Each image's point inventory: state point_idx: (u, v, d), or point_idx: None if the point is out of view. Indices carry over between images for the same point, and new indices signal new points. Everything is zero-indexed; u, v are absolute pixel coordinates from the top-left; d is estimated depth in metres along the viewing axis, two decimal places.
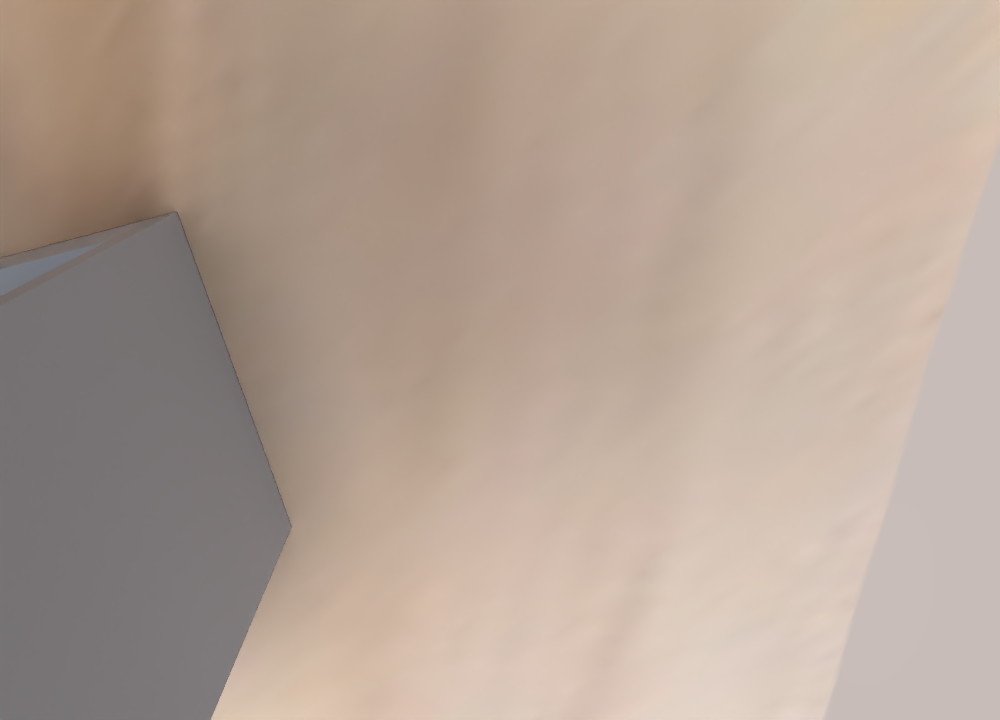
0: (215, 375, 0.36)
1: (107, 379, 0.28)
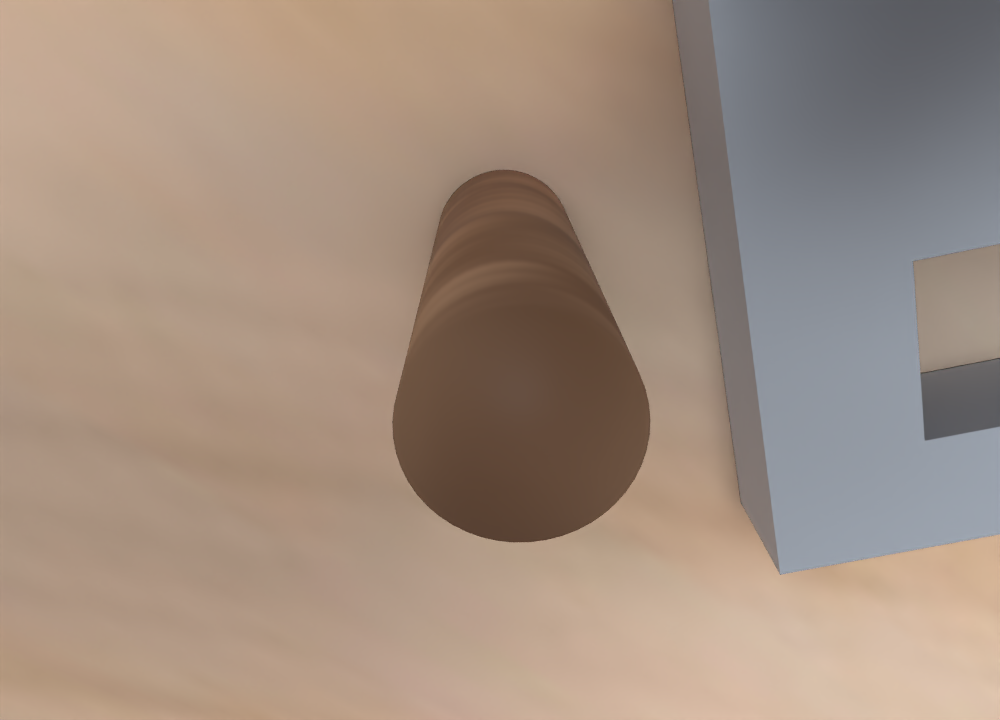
0: None
1: None
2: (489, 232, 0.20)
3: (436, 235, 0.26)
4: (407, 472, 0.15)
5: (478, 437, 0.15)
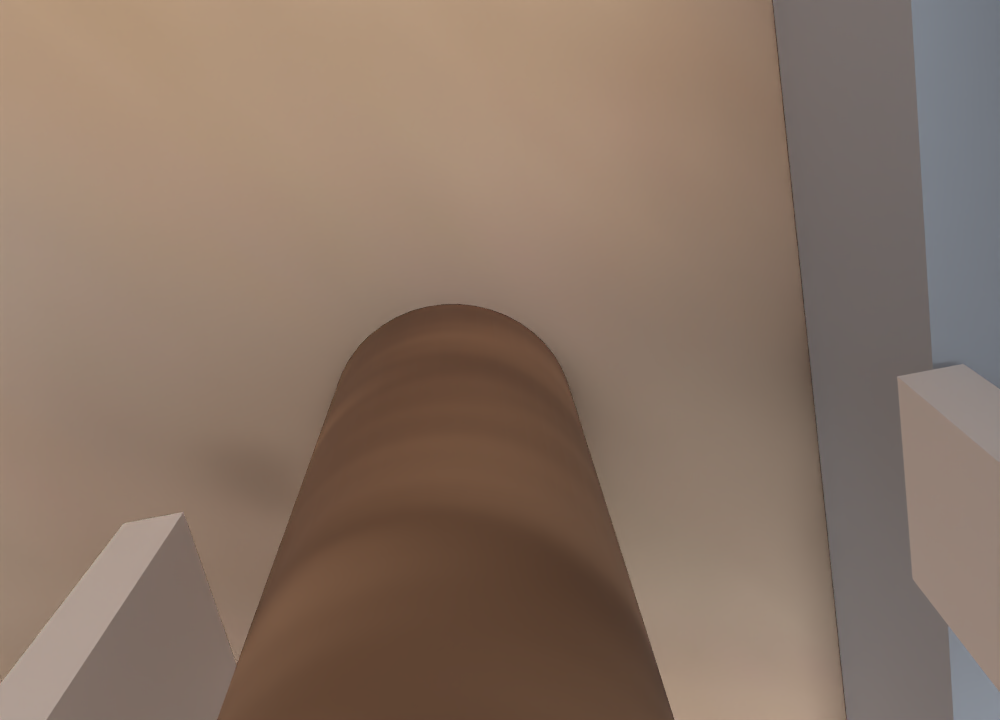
0: None
1: None
2: (371, 663, 0.07)
3: (308, 467, 0.12)
4: None
5: None
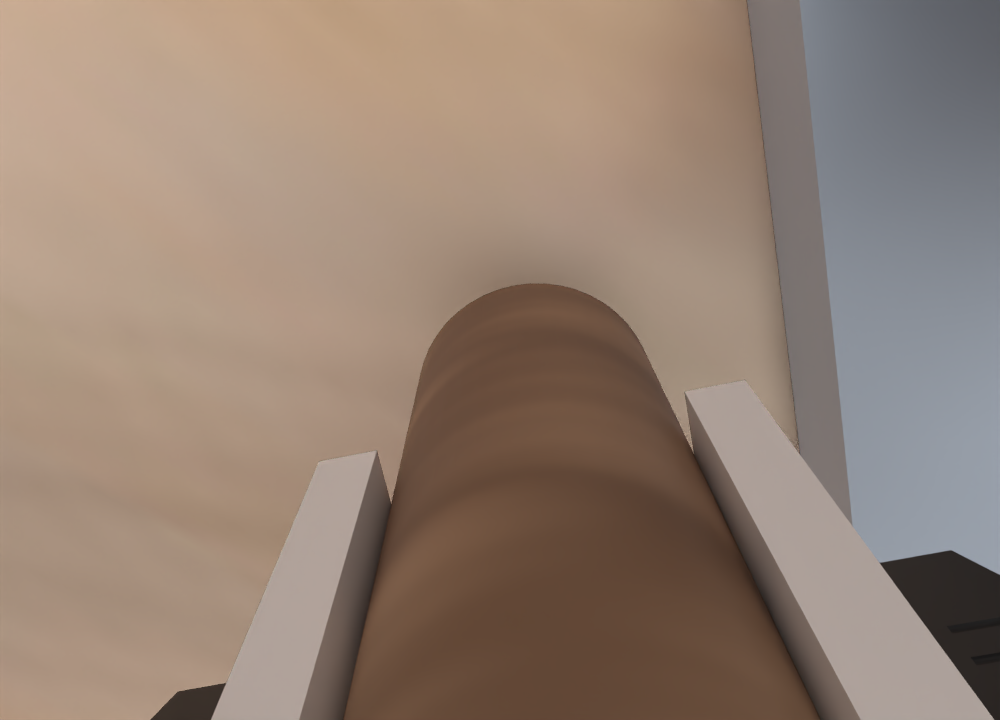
0: None
1: None
2: (526, 600, 0.07)
3: (407, 436, 0.13)
4: None
5: None
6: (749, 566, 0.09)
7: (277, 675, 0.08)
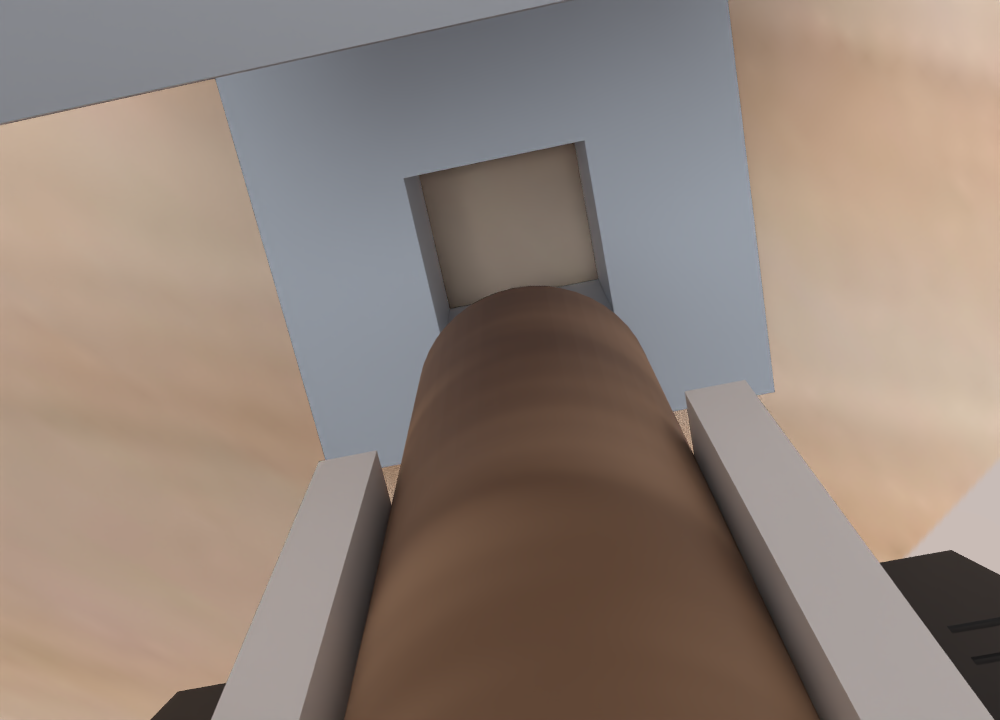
0: None
1: None
2: (527, 609, 0.07)
3: (407, 439, 0.13)
4: None
5: None
6: (749, 566, 0.09)
7: (277, 675, 0.08)
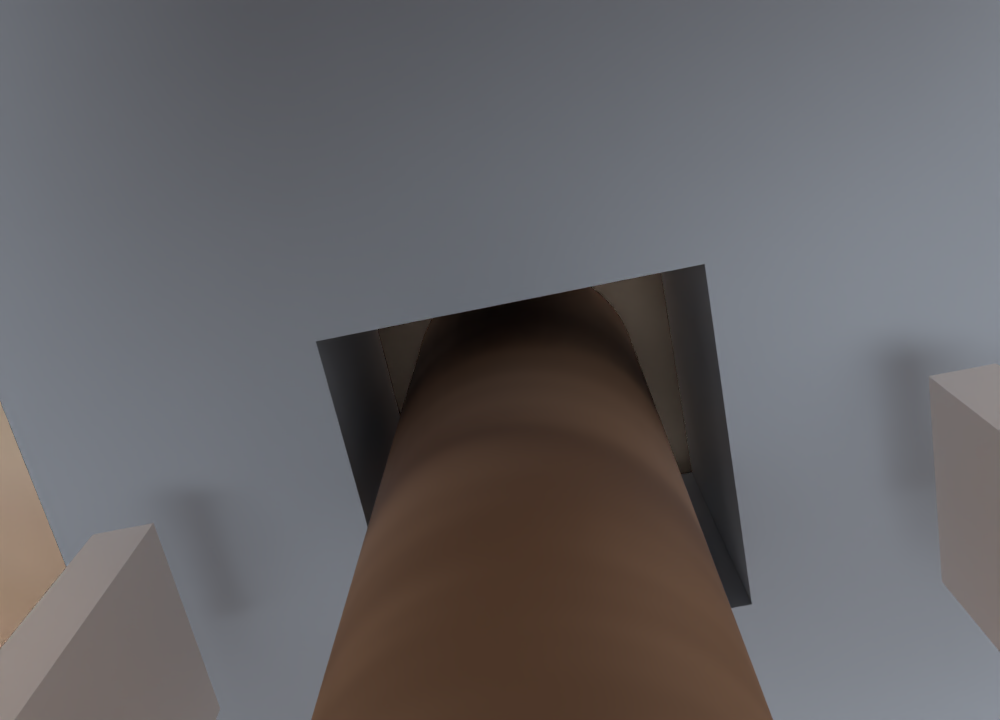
0: None
1: None
2: (488, 528, 0.08)
3: None
4: None
5: None
6: None
7: None
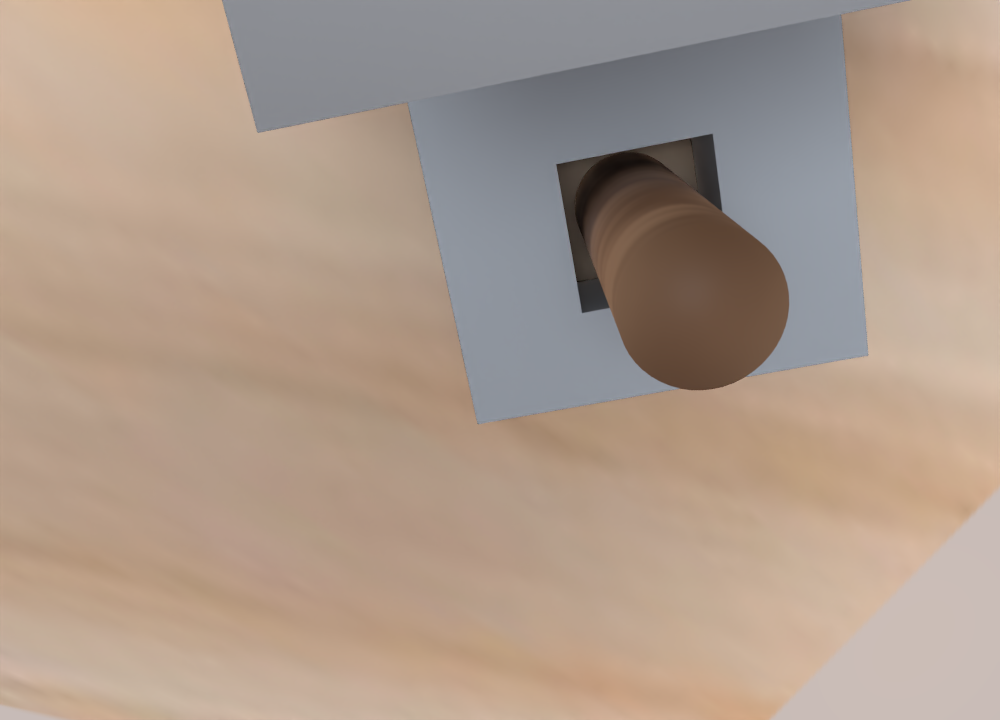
0: None
1: None
2: (652, 189, 0.27)
3: (585, 199, 0.33)
4: (624, 338, 0.22)
5: (673, 315, 0.22)
6: None
7: None
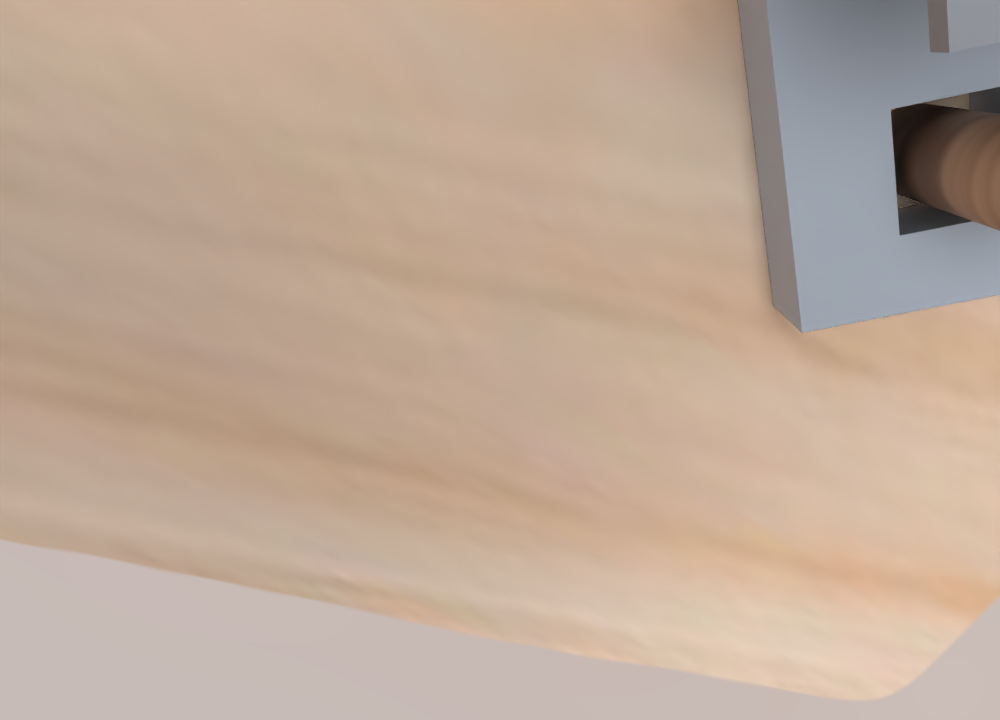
0: None
1: None
2: None
3: (902, 139, 0.39)
4: None
5: None
6: None
7: None
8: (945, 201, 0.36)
